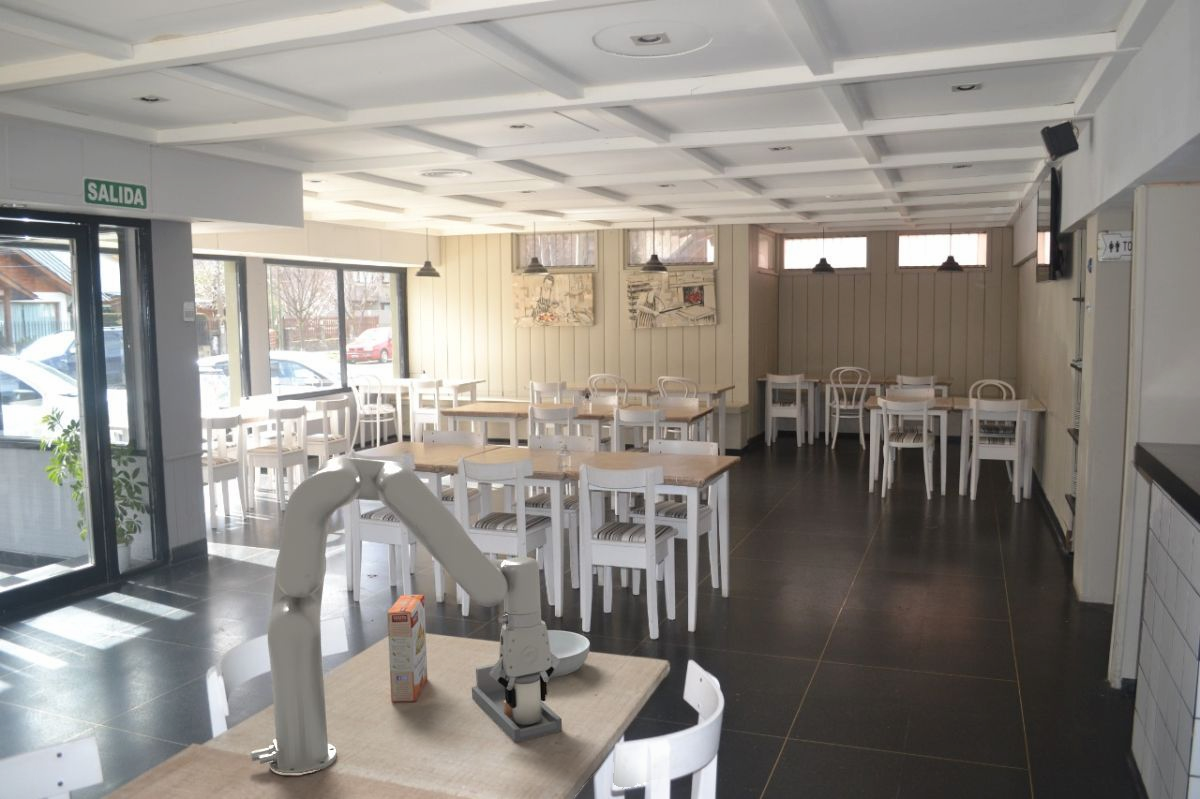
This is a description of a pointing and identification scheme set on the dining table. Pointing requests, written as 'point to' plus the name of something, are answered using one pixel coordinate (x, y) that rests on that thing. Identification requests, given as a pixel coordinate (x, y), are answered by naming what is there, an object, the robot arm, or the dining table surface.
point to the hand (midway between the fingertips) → (526, 701)
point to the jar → (527, 699)
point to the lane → (492, 702)
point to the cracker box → (407, 648)
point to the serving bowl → (568, 651)
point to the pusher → (508, 710)
